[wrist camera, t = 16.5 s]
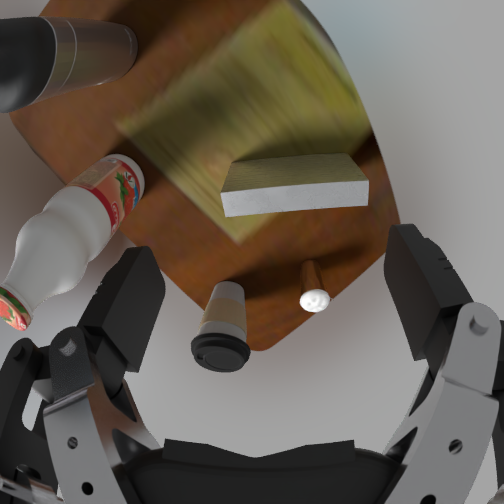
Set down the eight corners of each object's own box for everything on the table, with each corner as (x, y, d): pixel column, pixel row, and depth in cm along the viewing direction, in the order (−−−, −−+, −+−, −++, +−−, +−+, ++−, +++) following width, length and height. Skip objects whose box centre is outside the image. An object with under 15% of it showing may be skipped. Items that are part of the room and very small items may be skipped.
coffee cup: (197, 277, 51) (178, 345, 39) (247, 270, 49) (240, 341, 37) (214, 311, 56) (201, 375, 44) (259, 306, 55) (255, 373, 43)
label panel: (235, 183, 40) (226, 218, 32) (231, 162, 38) (220, 193, 30) (346, 174, 38) (367, 207, 30) (346, 152, 36) (368, 180, 28)
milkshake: (331, 263, 47) (341, 307, 39) (308, 280, 50) (314, 324, 42) (314, 248, 46) (323, 292, 38) (291, 266, 48) (294, 311, 40)
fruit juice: (107, 141, 36) (-32, 256, 14) (156, 171, 39) (45, 318, 17) (89, 188, 41) (-19, 310, 18) (133, 216, 44) (45, 358, 21)
